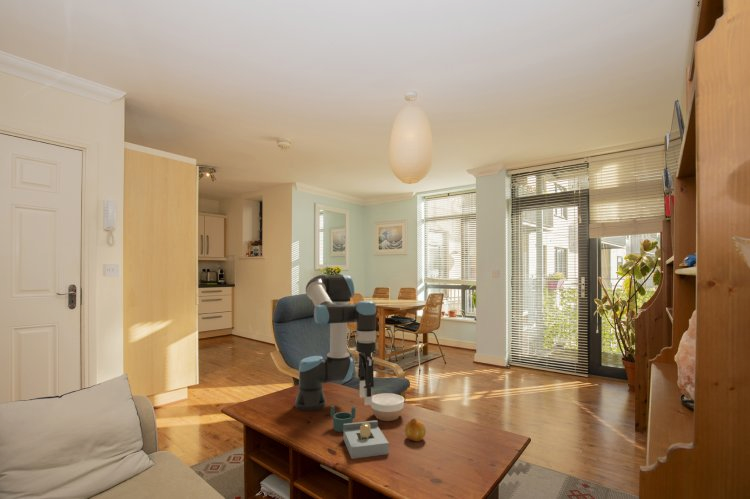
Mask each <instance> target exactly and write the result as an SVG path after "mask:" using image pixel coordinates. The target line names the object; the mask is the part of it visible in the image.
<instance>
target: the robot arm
mask: <svg viewBox="0 0 750 499" xmlns="http://www.w3.org/2000/svg"><path fill="white" fill-rule="evenodd" d="M305 294H306V296H307V298H308V299H309V300H311V301H312V303H313V305H314V309H313V318H314V322H315V323H316V324H318V325H327V324H328V325H329V327H330V328H329V332H330V333H329V352H328V353H327V354H326V358H324V357H323V356H322V355H311V356H308V357H305V358H303V359H301V360H300V361H299V366H298V392H297V394H296V398H295V401H294V407H295V409H297V410H298V411H303V412H312V411H318V410H321V409H323V408H325V407H326V404H327V400H326V399H327V398H326V396H325V393H324V389H323V384H329V383H339V382H340V383H344V382H347V381H349V380H351V378H352V376H353V372H354V360H353V357H352V356H350V353H349V352H348V350H347V349H348V348H347V347H348V346H347V345H348V324H349V323H350V324H352V323H353V324H354V323H355V324H356V332H355V333H354V336H356V343H355V344H356V346H355V350H356V352H357V353H358V374H357V375H358V376H357V377H358V379H359V398H360V399H361V398H362V399H363V398H364V400H363V401H364V406H371V405H372V396H373V388H374V387H375V384H374V382H375V380H374V378H375V377H374V362H375V361H374V359H373V357H372V353H374V352H375V353H376V349H377V348H376V344H377V343H376V342H375V341H376V340H377V330H376V327H377V326H376V323H377V322H376V321H377V320H376V319H377V306H376V303H375V301H371V300H359V301H358V302H356V303H350V302H351V298H353V297H355V286H354V281H353V278H352V277H351V276H350V275H348V274H320V275H316V276H314V277H313V278H311V279H310V280H309V281H308V282H307V284H306V287H305Z"/></svg>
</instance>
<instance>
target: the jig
mask: <svg viewBox="0 0 750 499" xmlns="http://www.w3.org/2000/svg"><path fill="white" fill-rule="evenodd" d="M362 423H369V424H370V425H371V431H370V439H363V440H360V424H362ZM342 433H343V436H342V438H343V439H342V440H343V441H344V444H345V447H346V448H347V451H348V453H349V456H350V459H351V460H354V459H361V458H368V457H376V456H383V455H389V454H390V443H389V441H388V440H387V438H386V437H385V436H386V435H384V433H383V432H382V430H381V429H380V427H379V422H378V420H368V421H367V420H366V421H358V422H353V423H346V424H344V425H343V432H342Z"/></svg>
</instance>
